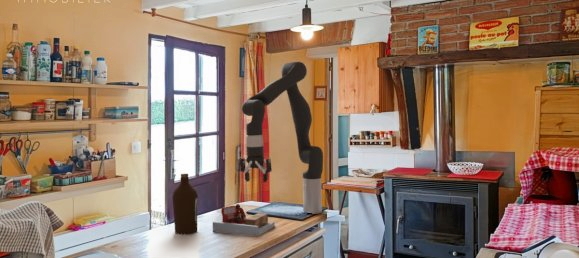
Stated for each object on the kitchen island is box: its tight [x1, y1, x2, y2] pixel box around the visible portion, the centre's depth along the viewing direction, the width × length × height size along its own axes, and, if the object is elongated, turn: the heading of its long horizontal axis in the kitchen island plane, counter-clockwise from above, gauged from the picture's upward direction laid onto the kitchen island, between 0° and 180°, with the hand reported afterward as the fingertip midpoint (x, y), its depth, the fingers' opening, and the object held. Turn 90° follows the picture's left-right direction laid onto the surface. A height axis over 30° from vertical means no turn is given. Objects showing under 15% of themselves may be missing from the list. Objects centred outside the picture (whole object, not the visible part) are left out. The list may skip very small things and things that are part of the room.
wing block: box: [245, 212, 269, 228], centre depth 200 cm, size 12×4×6 cm, turn 156°
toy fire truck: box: [220, 203, 247, 224], centre depth 203 cm, size 7×12×10 cm, turn 133°
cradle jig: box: [212, 220, 275, 237], centre depth 202 cm, size 16×22×4 cm
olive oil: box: [171, 173, 199, 235], centre depth 198 cm, size 11×11×25 cm
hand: (256, 181), depth 205 cm, fingers open, 8 cm apart
